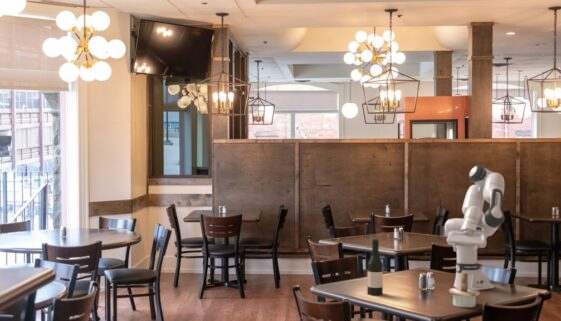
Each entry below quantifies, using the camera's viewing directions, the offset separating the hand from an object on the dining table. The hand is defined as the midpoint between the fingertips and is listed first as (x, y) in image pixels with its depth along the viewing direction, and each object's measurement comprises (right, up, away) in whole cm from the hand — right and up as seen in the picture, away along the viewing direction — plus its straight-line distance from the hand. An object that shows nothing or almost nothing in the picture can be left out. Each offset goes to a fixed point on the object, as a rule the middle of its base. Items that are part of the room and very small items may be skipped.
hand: (463, 251), depth 355 cm
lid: (-3, -20, -11) cm, 22 cm away
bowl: (-3, -26, -10) cm, 28 cm away
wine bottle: (-45, -25, +13) cm, 53 cm away
